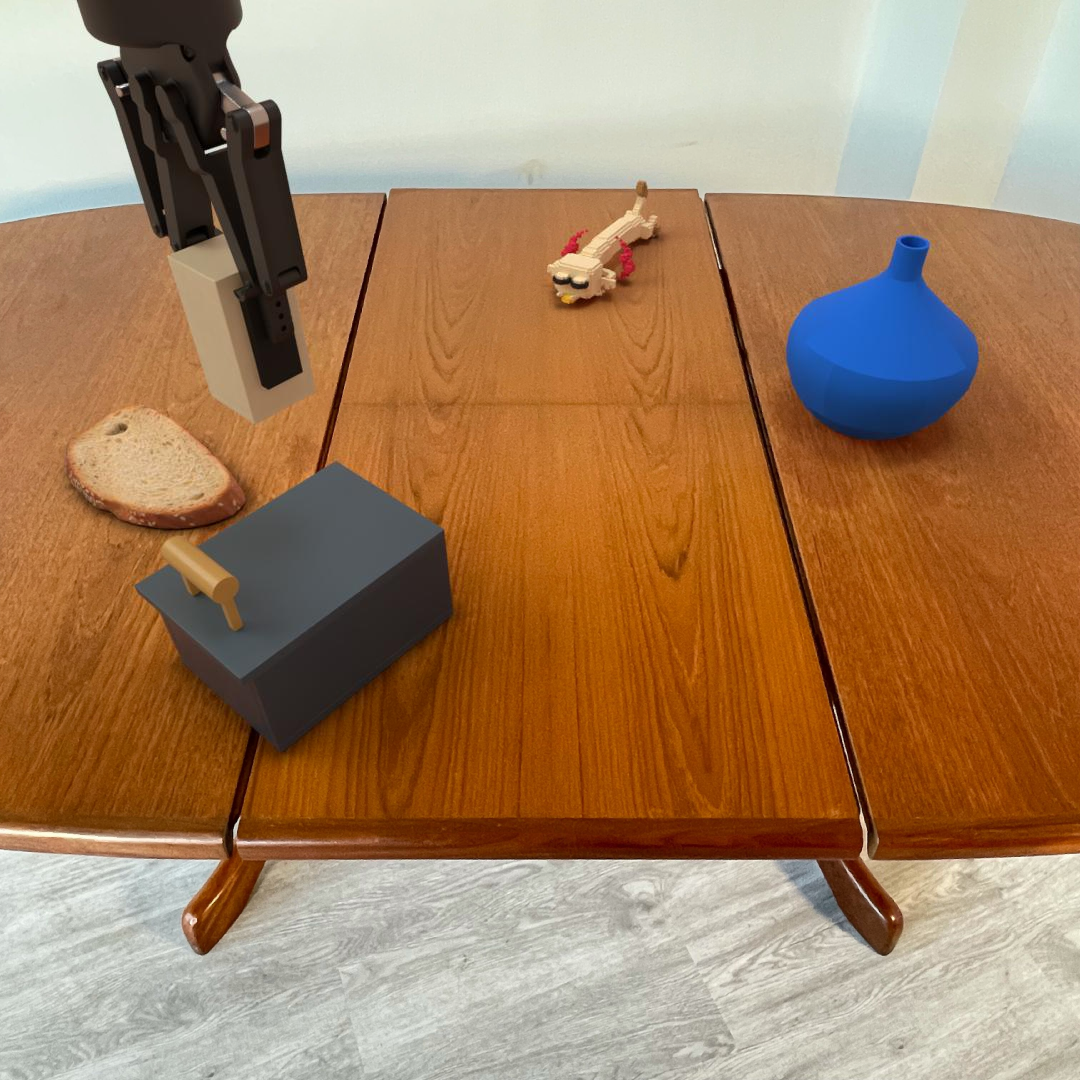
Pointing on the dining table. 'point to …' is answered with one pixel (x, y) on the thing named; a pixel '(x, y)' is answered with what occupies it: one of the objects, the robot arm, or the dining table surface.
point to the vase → (882, 352)
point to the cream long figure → (601, 254)
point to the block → (232, 333)
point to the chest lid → (286, 569)
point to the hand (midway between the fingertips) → (255, 362)
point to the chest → (333, 653)
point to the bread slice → (151, 471)
